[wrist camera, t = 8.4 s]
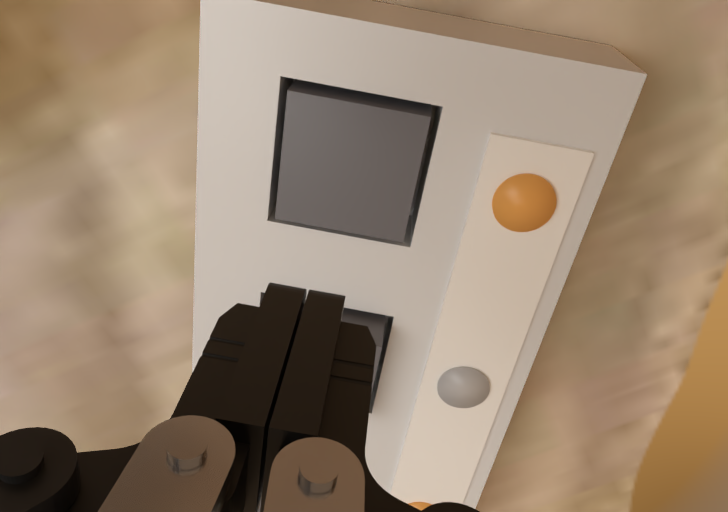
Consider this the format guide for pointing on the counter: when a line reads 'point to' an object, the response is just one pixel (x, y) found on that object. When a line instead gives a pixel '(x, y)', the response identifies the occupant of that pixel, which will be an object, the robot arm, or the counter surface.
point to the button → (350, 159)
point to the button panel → (413, 207)
